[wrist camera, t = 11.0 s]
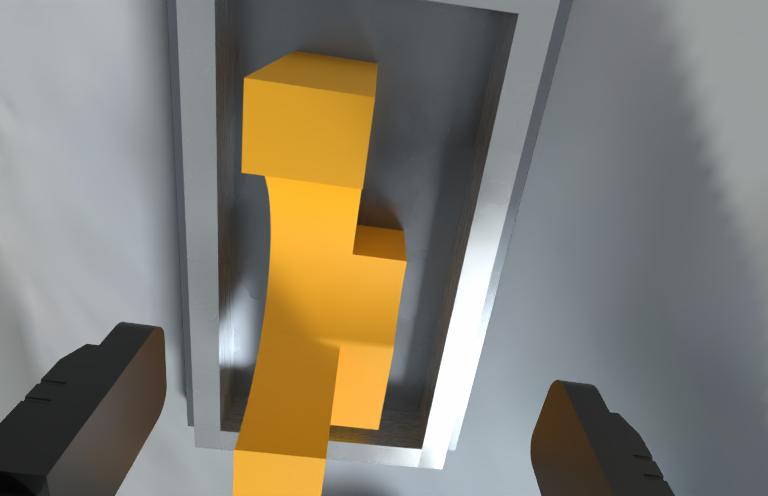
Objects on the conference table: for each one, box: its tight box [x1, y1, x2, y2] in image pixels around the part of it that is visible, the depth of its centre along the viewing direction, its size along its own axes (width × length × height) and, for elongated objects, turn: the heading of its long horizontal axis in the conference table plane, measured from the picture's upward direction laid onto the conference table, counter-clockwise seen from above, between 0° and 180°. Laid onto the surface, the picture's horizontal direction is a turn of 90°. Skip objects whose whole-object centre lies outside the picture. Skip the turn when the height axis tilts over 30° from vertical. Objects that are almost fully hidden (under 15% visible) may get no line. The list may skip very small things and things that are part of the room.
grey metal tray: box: [167, 0, 573, 469], centre depth 18 cm, size 12×20×3 cm, turn 173°
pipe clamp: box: [233, 51, 407, 496], centre depth 16 cm, size 12×4×6 cm, turn 172°
